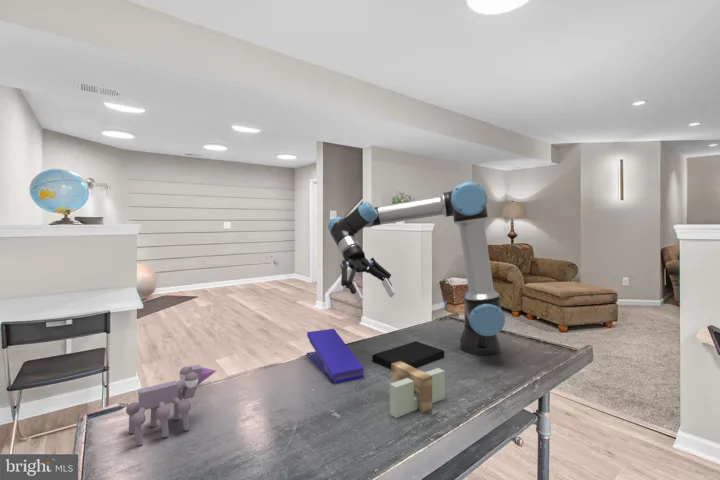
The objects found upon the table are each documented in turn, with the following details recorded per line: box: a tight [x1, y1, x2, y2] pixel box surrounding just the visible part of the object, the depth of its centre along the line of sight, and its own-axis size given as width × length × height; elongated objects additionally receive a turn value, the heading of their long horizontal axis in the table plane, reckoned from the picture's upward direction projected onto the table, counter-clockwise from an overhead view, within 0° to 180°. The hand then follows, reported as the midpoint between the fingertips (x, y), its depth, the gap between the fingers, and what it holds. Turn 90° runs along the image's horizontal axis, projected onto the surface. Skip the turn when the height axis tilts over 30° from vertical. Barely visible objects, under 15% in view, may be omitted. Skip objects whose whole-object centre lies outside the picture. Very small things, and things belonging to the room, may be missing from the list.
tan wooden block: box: [390, 361, 433, 414], centre depth 99 cm, size 13×4×9 cm, turn 34°
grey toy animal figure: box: [125, 364, 217, 446], centre depth 87 cm, size 20×11×14 cm, turn 127°
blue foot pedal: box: [306, 328, 365, 385], centre depth 124 cm, size 12×28×10 cm, turn 28°
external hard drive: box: [371, 341, 445, 371], centre depth 130 cm, size 14×23×3 cm, turn 129°
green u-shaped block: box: [389, 367, 446, 418], centre depth 96 cm, size 18×2×8 cm, turn 124°
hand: (377, 297), depth 119 cm, fingers open, 13 cm apart
